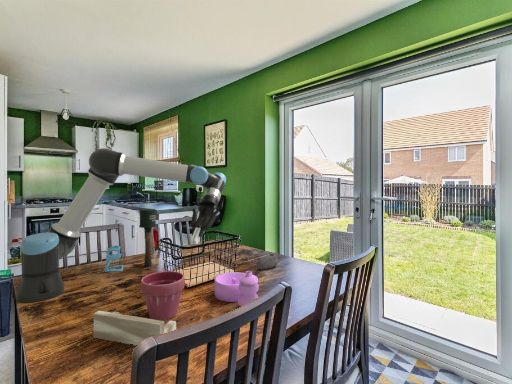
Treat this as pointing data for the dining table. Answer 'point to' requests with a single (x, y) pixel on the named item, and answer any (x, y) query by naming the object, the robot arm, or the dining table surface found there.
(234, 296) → the container set
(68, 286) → the dining table surface
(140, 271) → the dining table surface
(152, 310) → the plant pot
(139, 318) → the corner stop
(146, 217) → the potato masher grenade
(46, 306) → the dining table surface
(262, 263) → the perforated stone tool
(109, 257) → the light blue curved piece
